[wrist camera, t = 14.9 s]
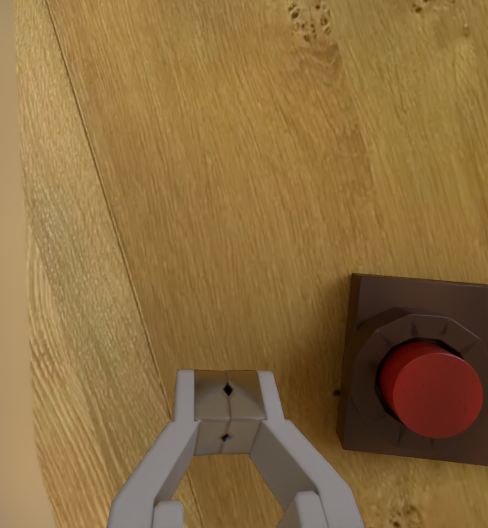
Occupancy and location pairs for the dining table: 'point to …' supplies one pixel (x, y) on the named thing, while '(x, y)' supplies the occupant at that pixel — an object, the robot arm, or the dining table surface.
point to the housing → (400, 333)
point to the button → (431, 389)
